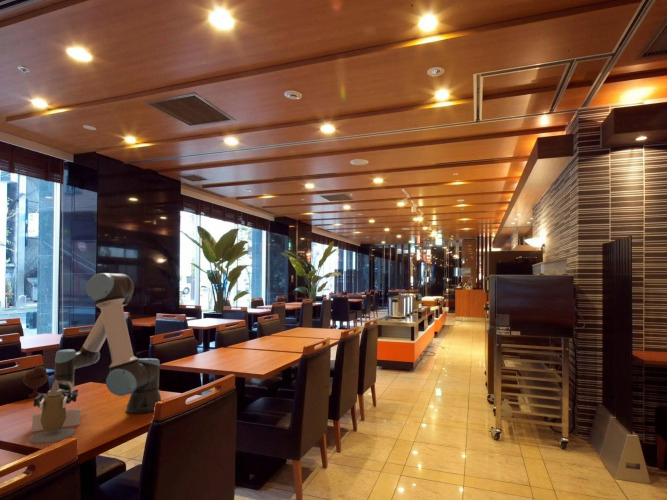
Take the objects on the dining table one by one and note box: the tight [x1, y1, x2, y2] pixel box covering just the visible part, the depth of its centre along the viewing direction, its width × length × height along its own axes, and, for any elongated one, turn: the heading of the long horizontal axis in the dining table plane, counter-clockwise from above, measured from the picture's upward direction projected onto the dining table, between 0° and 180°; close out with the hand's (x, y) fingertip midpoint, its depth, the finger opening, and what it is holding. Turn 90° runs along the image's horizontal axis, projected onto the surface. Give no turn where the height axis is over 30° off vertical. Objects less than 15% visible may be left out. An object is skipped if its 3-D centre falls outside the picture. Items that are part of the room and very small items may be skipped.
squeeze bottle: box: [41, 380, 67, 431], centre depth 153 cm, size 8×8×18 cm
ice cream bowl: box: [22, 365, 50, 398], centre depth 208 cm, size 11×11×15 cm
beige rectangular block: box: [31, 408, 82, 432], centre depth 162 cm, size 16×2×6 cm, turn 118°
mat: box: [29, 427, 75, 445], centre depth 152 cm, size 14×14×1 cm
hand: (52, 405), depth 149 cm, fingers closed on squeeze bottle, 6 cm apart
